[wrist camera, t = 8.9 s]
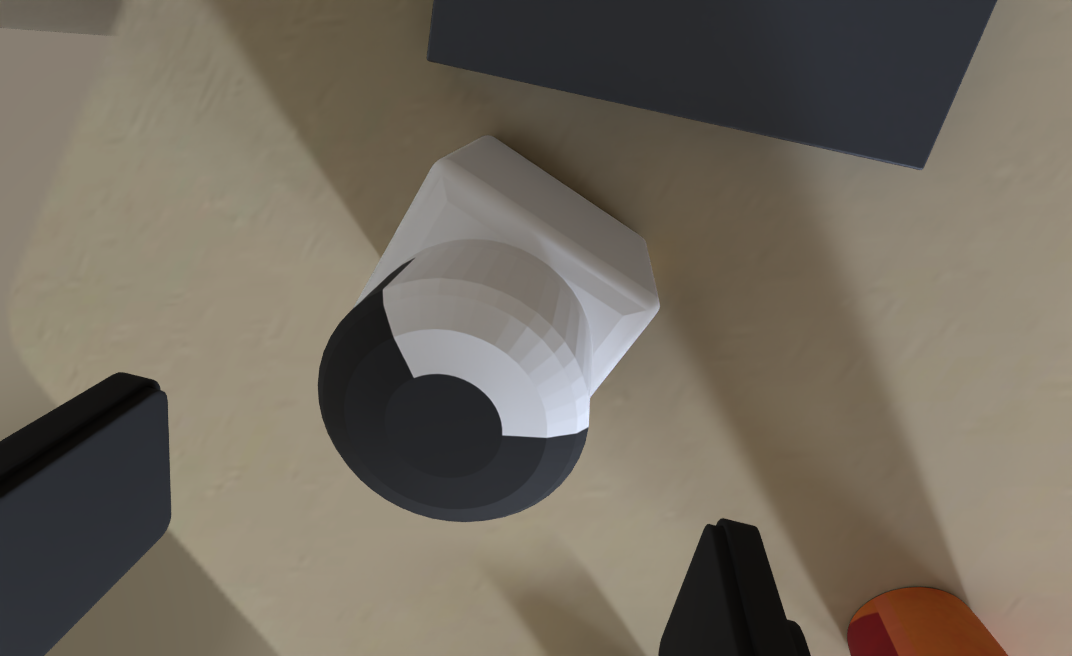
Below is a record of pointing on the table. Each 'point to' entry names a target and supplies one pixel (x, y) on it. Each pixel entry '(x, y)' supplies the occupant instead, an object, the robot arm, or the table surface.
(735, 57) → the scale
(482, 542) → the table surface
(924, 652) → the paper cup
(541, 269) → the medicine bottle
